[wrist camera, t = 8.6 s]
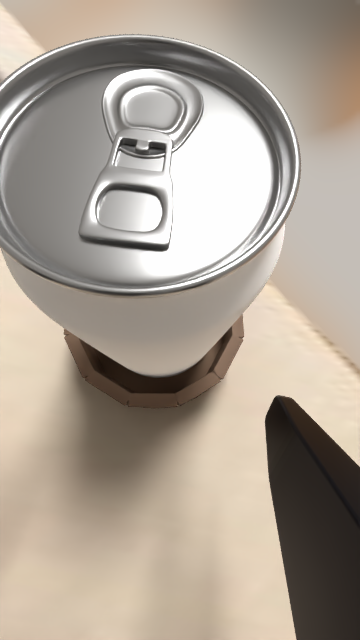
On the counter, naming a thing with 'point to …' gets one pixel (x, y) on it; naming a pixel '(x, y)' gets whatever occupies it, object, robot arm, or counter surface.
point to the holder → (149, 389)
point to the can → (143, 193)
